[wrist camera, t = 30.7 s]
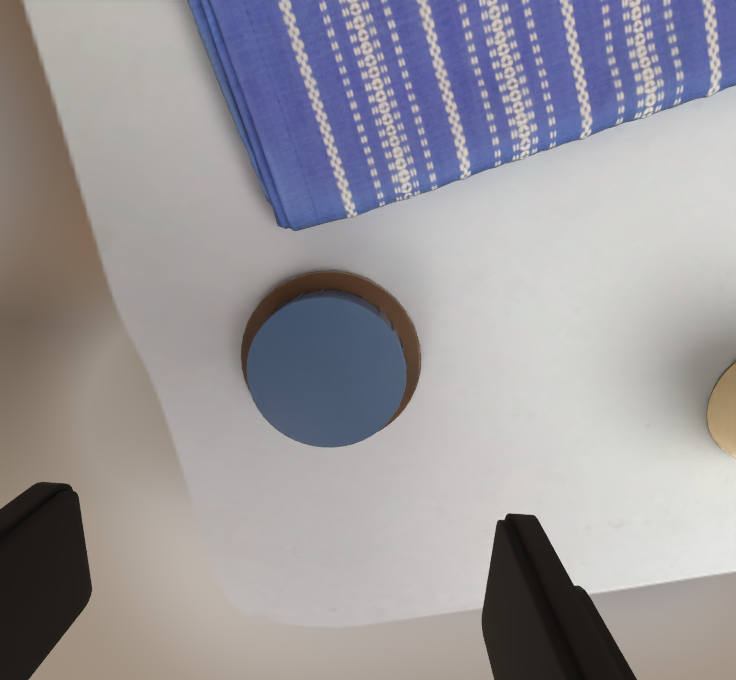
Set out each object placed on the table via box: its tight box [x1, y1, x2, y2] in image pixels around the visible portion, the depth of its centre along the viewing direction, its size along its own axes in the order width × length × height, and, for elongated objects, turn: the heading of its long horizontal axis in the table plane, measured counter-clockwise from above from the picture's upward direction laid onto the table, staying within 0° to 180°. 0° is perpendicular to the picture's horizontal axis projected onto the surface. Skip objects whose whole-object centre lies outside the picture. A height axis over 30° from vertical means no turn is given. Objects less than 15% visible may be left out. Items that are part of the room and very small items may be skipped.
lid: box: [247, 289, 407, 447], centre depth 19 cm, size 7×7×2 cm
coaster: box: [241, 271, 421, 431], centre depth 21 cm, size 9×9×1 cm
